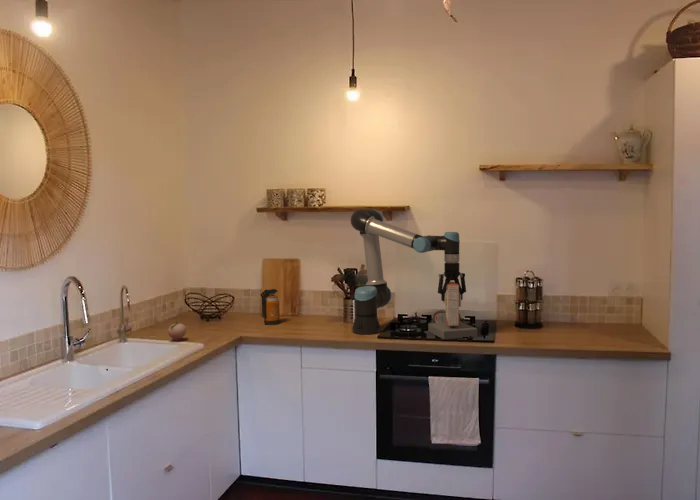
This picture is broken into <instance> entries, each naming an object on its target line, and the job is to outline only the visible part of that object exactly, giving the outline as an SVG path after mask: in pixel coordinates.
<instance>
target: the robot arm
mask: <svg viewBox="0 0 700 500" xmlns="http://www.w3.org/2000/svg"><path fill="white" fill-rule="evenodd" d="M350 224H351V226H352V228H353V229H354V230H356V231H358V232H359V235H360V237H362V238H363V248H364V249H363V250H364V256H365V257H364V258H365V266H366V275H367V282H366V283H365V285H364V286H360V287H357V288H356V289H355V291H354V311H355V312H354V321H353V324H352V326H351V329H352V330H351V332H352V333H353V334H358V335H374V334H375V335H376V334H379V333H381V331H382V330H381V329H382V328H381V325H380V321H379V318H378V309H379V308H384V307H385V306H387V305H388V304H389V303H390V301H391V300H392V291H391V289H390V287H388V283H387V281H386V280H385V278H384V270H383V262H382V255H381V254H382V252H381V245H380V238H383V239H385V240H389V241H391V242H393V243H397V244H400V245H402V246H406V247H408V248H411V249H413V250H414V251H416V252H417V253H419V254H421V253H422V254H423V253H427V252H432V251H444V253H443V255H444V259H443V260H444V268H443V270H444V272H443V273H438V278H439V280H438V287H437V293H438V294H440V296H441V297H440V298H441V299H440V300H441V301H442V307H443V308H445V309H446V308H447V302H446V290H447V284H449V282H455V283H457V284H458V285H459V308H461V307H462V301H463V299H464V297H463V295H464V294H465V293H467V288H466V287H467V286H466V280H465V279H466V277H465V276H466V274H465V273H464V272H460V242H461V241H460V234H459V232H458V231H445V232H444V234H443V235H421V234H419V233H416V232H413V231H409V230H406V229H404V228H402V227H400V226H399V227H398V226H395V225H393V224H390V223H388V222H384V217H383V215H382V213H381V212H380V211H378V209H373V208H365V209H363V208H361V209H357V210H355V211H354V212H353V213H352V215H351V217H350ZM459 277H460V279H459ZM444 279H445V280H444Z"/></svg>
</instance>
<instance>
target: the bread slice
mask: <svg viewBox="0 0 700 500" xmlns="http://www.w3.org/2000/svg"><path fill="white" fill-rule="evenodd" d="M461 318H462V317H461V314H460V313H459V321H460V322H461V320H462V319H461ZM432 319H433V322H434V323H444V322H446V309H444V310H443V309H439V310H437V311H435V312H434V313H433V315H432Z"/></svg>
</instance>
